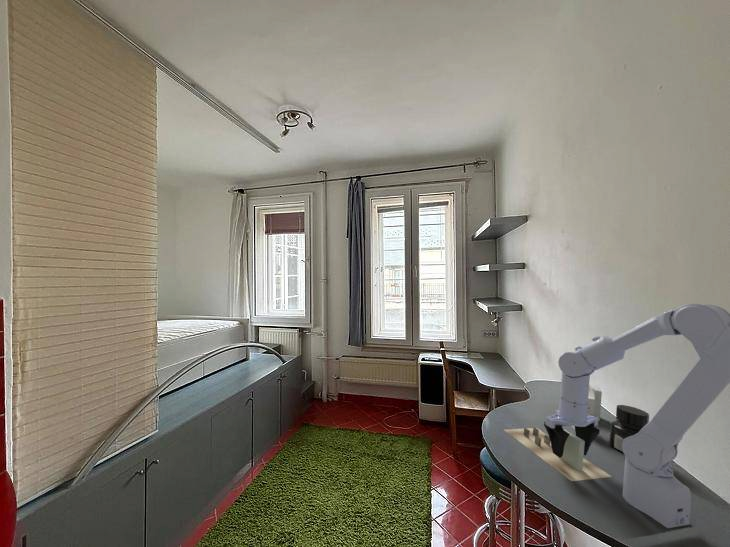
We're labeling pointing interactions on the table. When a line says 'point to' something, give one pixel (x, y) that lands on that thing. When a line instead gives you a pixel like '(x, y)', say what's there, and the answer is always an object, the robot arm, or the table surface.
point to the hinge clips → (537, 439)
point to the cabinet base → (556, 457)
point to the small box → (597, 402)
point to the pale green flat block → (574, 451)
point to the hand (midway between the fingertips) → (569, 454)
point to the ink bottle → (626, 425)
